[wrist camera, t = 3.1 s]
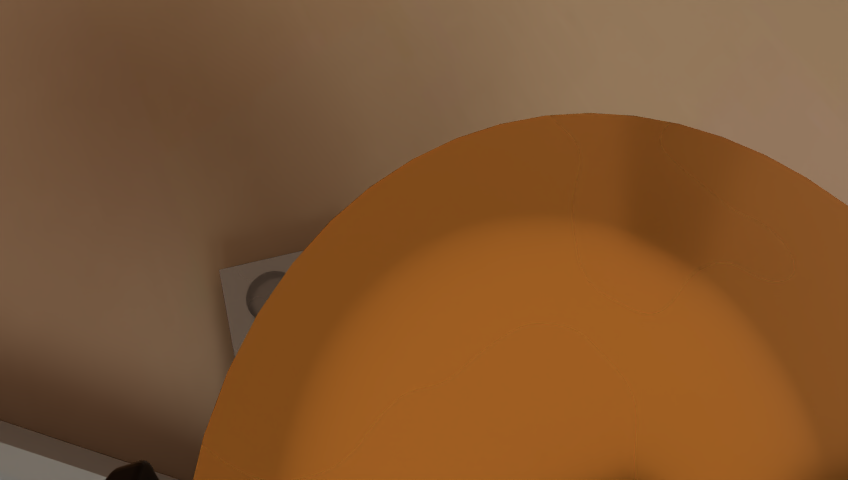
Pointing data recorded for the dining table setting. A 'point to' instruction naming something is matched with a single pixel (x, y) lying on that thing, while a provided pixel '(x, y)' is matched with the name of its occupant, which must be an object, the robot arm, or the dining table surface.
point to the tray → (50, 458)
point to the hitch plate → (250, 291)
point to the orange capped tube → (555, 319)
